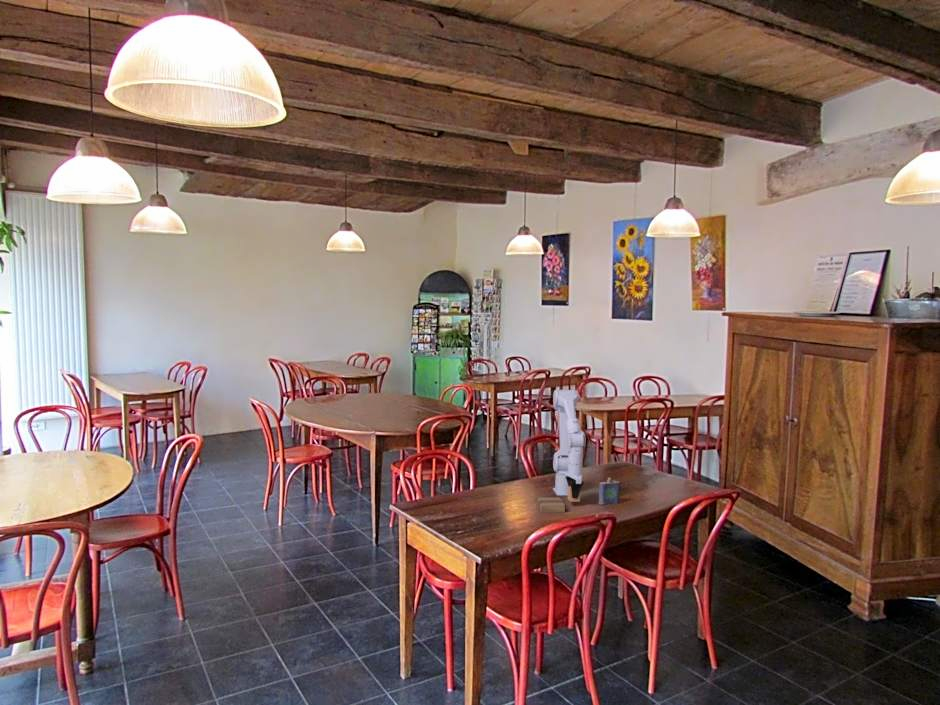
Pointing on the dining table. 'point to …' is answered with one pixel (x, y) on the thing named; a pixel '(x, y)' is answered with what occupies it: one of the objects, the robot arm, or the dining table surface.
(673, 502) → the dining table surface
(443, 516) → the dining table surface
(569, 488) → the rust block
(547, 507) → the base
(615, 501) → the flask
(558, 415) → the robot arm
